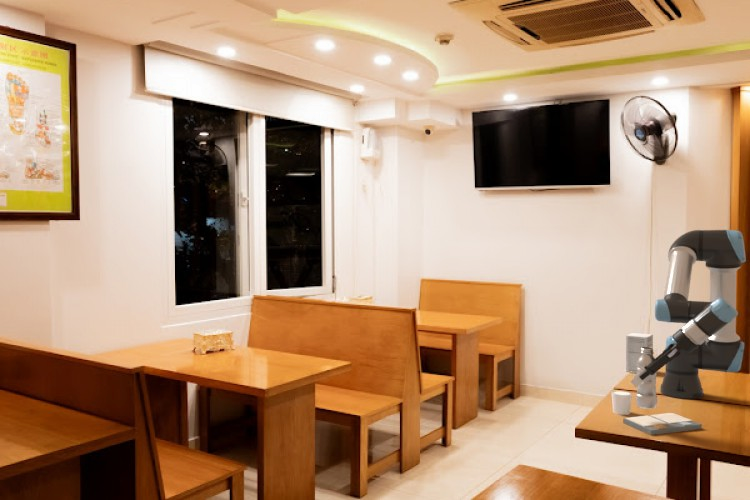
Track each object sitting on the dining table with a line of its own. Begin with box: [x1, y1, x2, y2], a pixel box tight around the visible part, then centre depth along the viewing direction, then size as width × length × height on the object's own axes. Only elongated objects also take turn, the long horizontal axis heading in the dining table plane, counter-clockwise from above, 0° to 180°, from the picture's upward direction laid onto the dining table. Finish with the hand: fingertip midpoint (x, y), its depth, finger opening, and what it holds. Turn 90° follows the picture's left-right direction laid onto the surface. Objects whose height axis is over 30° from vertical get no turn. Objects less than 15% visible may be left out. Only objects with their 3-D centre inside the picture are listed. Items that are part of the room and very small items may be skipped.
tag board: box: [622, 412, 703, 436], centre depth 209 cm, size 20×13×2 cm, turn 107°
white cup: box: [611, 390, 633, 416], centre depth 224 cm, size 7×7×7 cm
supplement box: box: [625, 332, 654, 374], centre depth 286 cm, size 10×9×17 cm
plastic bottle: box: [635, 347, 658, 410], centre depth 208 cm, size 6×7×20 cm
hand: (634, 381), depth 210 cm, fingers closed on plastic bottle, 6 cm apart
